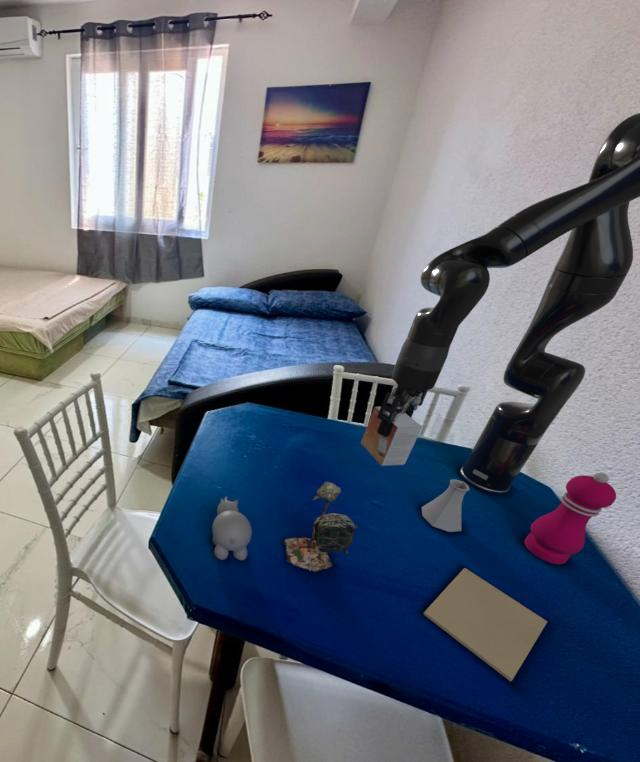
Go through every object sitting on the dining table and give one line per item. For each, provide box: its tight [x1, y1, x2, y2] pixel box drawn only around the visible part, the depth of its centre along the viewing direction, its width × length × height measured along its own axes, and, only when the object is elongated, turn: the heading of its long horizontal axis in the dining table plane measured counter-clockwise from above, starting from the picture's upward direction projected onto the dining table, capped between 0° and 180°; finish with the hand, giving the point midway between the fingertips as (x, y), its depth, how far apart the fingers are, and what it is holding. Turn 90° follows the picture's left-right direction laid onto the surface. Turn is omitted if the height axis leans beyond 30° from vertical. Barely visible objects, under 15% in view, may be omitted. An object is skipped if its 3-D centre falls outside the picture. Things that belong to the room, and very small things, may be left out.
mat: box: [423, 567, 548, 682], centre depth 68 cm, size 16×12×1 cm
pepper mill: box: [523, 472, 617, 565], centre depth 76 cm, size 7×7×20 cm
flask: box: [421, 478, 470, 533], centre depth 85 cm, size 7×7×10 cm
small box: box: [360, 406, 423, 467], centre depth 89 cm, size 8×6×10 cm
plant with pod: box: [283, 481, 358, 573], centre depth 73 cm, size 8×11×20 cm
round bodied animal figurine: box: [211, 495, 253, 561], centre depth 79 cm, size 7×12×8 cm, turn 174°
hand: (392, 428), depth 88 cm, fingers closed on small box, 7 cm apart
